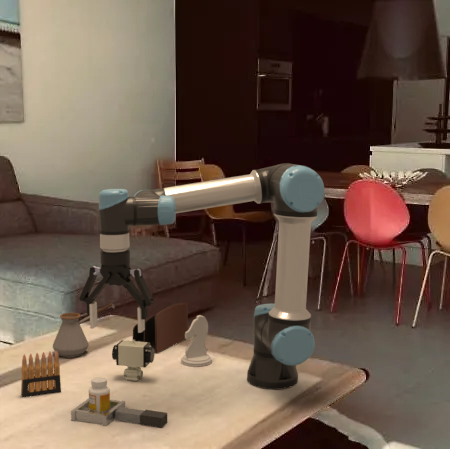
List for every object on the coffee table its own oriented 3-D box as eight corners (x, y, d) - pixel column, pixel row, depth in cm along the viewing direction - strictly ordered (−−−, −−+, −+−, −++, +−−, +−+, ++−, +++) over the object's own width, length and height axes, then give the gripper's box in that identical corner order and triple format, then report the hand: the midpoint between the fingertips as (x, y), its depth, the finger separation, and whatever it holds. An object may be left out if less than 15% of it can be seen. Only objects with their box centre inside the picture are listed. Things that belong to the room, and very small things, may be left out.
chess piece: (175, 360, 241) (175, 314, 239) (201, 355, 246) (202, 310, 244) (190, 369, 233) (191, 321, 230) (217, 363, 238) (218, 317, 236)
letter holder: (188, 339, 264) (188, 299, 262) (156, 354, 247) (157, 312, 244) (164, 334, 268) (164, 296, 266) (131, 349, 251) (131, 308, 249)
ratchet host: (172, 417, 196) (172, 407, 195) (156, 433, 185) (156, 423, 185) (91, 405, 203) (91, 395, 202) (71, 420, 192) (71, 410, 192)
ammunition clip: (22, 397, 207) (21, 355, 205) (21, 395, 209) (20, 353, 207) (61, 392, 212) (60, 351, 210) (59, 390, 213) (59, 349, 211)
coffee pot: (60, 361, 237) (60, 315, 235) (47, 351, 247) (46, 307, 245) (122, 350, 249) (121, 306, 247) (107, 341, 259) (106, 299, 257)
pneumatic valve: (150, 383, 219) (150, 343, 218) (111, 380, 222) (111, 340, 220) (155, 377, 225) (155, 338, 223) (118, 373, 227) (118, 335, 225)
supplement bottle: (111, 411, 199) (110, 375, 197) (108, 419, 193) (108, 383, 192) (90, 411, 199) (90, 375, 197) (87, 419, 193) (87, 383, 192)
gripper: (165, 249, 194) (167, 328, 197) (78, 244, 201) (81, 321, 204) (154, 254, 187) (156, 337, 190) (64, 249, 194) (67, 329, 197)
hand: (117, 329), depth 197 cm, fingers open, 13 cm apart
